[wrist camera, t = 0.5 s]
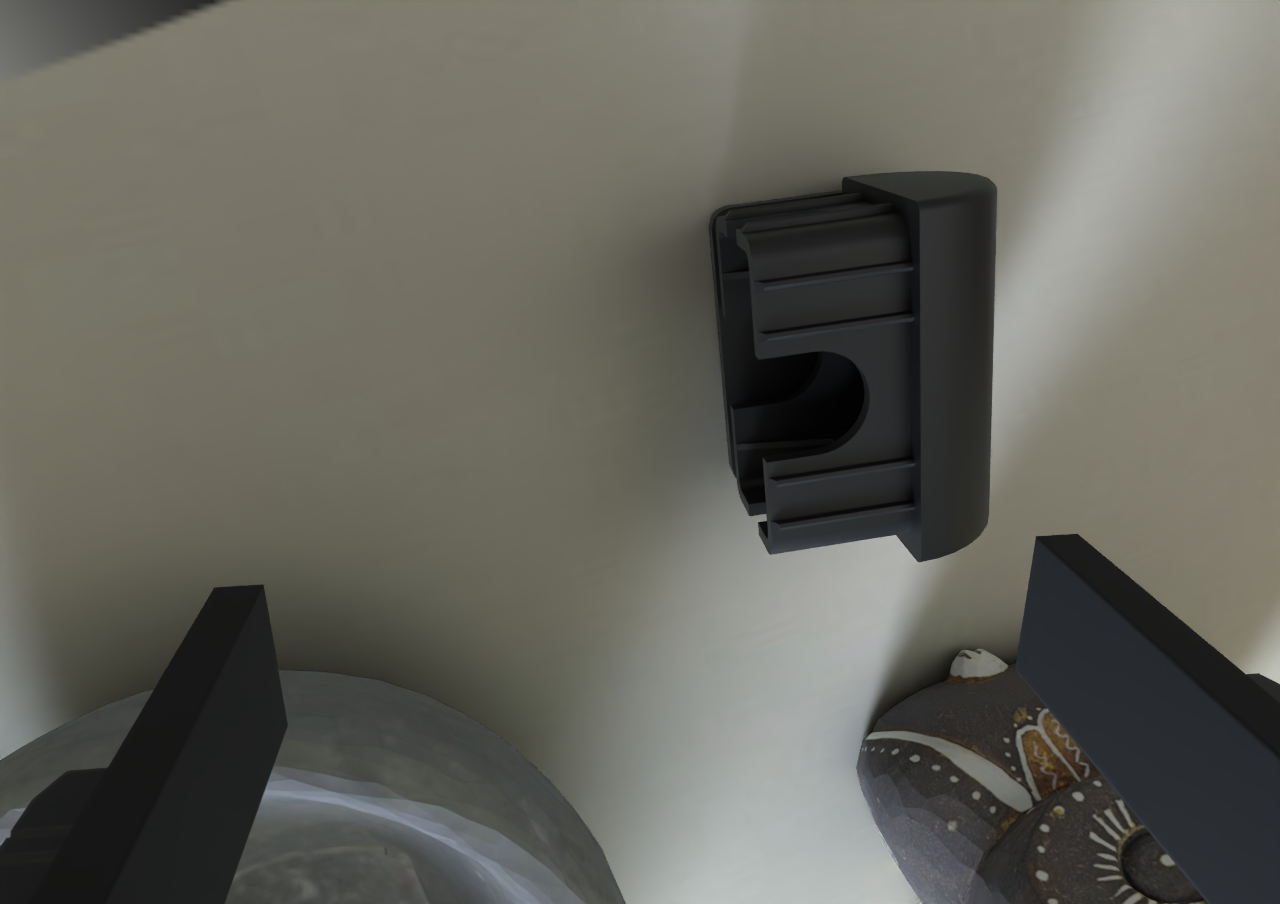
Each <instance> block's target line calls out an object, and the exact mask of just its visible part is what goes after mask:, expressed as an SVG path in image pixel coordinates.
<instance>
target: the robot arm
mask: <svg viewBox="0 0 1280 904" xmlns="http://www.w3.org/2000/svg"><path fill="white" fill-rule="evenodd" d="M1015 670H1016V671H1017V672H1018V673H1019V675H1020V676H1021V677H1022V678H1023V680H1024V681H1025V682H1026V683H1027V684H1028V686H1029V687H1030V688H1031V689H1032V690H1033V692H1034V693H1035V694H1036V695H1037V697H1038V698H1039V699H1040V700H1041V701H1042V703H1043V704H1044V705H1045V706H1046V707H1047V709H1048V710H1049V711H1050V712H1051V714H1052V715H1053V716H1054V717H1055V718H1056V720H1057V721H1058V722H1059V723H1060V724H1061V726H1062V727H1063V728H1064V729H1065V731H1066V732H1067V733H1068V734H1069V735H1070V737H1071V738H1072V739H1073V740H1074V741H1075V743H1076V744H1077V745H1078V746H1079V748H1080V749H1081V750H1082V751H1083V752H1084V754H1085V755H1086V756H1087V757H1088V758H1089V760H1090V761H1091V762H1092V763H1093V765H1094V766H1095V767H1096V768H1097V769H1098V771H1099V772H1100V773H1101V774H1102V775H1103V777H1104V778H1105V779H1106V780H1107V782H1108V783H1109V784H1110V785H1111V786H1112V788H1113V789H1114V790H1115V791H1116V792H1117V794H1118V795H1119V796H1120V797H1121V799H1122V800H1123V801H1124V802H1125V803H1126V805H1127V806H1128V807H1129V808H1130V809H1131V811H1132V812H1133V813H1134V814H1135V816H1136V817H1137V818H1138V819H1139V820H1140V822H1141V823H1142V824H1143V825H1144V826H1145V828H1146V829H1147V830H1148V831H1149V833H1150V834H1151V835H1152V836H1153V837H1154V839H1155V840H1156V841H1157V842H1158V843H1159V845H1160V846H1161V847H1162V848H1163V850H1164V851H1165V852H1166V853H1167V854H1168V856H1169V857H1170V858H1171V859H1172V860H1173V862H1174V863H1175V864H1176V865H1177V867H1178V868H1179V869H1180V870H1181V871H1182V873H1183V874H1184V875H1185V876H1186V877H1187V879H1188V880H1189V881H1190V882H1191V884H1192V885H1193V886H1194V887H1195V888H1196V890H1197V891H1198V892H1199V893H1200V894H1201V896H1202V897H1203V898H1204V899H1205V901H1206V902H1207V903H1208V904H1280V684H1278V683H1276V682H1274V681H1272V680H1270V679H1268V678H1266V677H1264V676H1262V675H1261V674H1259V673H1257V674H1245V673H1244V672H1242V671H1241V670H1240V669H1239V668H1238V667H1236V666H1235V665H1234V664H1233V663H1232V662H1230V661H1229V660H1228V659H1227V658H1226V657H1224V656H1223V655H1222V654H1221V653H1220V652H1218V651H1217V650H1216V649H1215V648H1214V647H1213V646H1211V645H1210V644H1209V643H1208V642H1207V641H1205V640H1204V639H1203V638H1202V637H1201V636H1199V635H1198V634H1197V633H1196V632H1195V631H1193V630H1192V629H1191V628H1190V627H1189V626H1187V625H1186V624H1185V623H1184V622H1183V621H1181V620H1180V619H1179V618H1178V617H1177V616H1175V615H1174V614H1173V613H1172V612H1171V611H1169V610H1168V609H1167V608H1166V607H1165V606H1163V605H1162V604H1161V603H1160V602H1159V601H1157V600H1156V599H1155V598H1154V597H1153V596H1151V595H1150V594H1149V593H1148V592H1147V591H1145V590H1144V589H1143V588H1142V587H1141V586H1139V585H1138V584H1137V583H1136V582H1135V581H1133V580H1132V579H1131V578H1130V577H1129V576H1127V575H1126V574H1125V573H1124V572H1123V571H1121V570H1120V569H1119V568H1118V567H1117V566H1115V565H1114V564H1113V563H1112V562H1111V561H1109V560H1108V559H1107V558H1106V557H1105V556H1103V555H1102V554H1101V553H1100V552H1099V551H1097V550H1096V549H1095V548H1094V547H1093V546H1091V545H1090V544H1089V543H1088V542H1087V541H1085V540H1084V539H1083V538H1082V537H1081V536H1079V535H1078V534H1067V535H1051V536H1036V541H1035V547H1034V553H1033V560H1032V566H1031V572H1030V579H1029V585H1028V591H1027V598H1026V604H1025V610H1024V616H1023V623H1022V629H1021V635H1020V642H1019V648H1018V654H1017V661H1016V667H1015ZM287 727H288V723H287V717H286V711H285V705H284V699H283V694H282V688H281V682H280V676H279V671H278V665H277V659H276V653H275V648H274V642H273V636H272V630H271V625H270V619H269V613H268V607H267V602H266V596H265V590H264V585H248V586H232V587H216V588H214V589H213V591H212V592H211V594H210V596H209V597H208V599H207V601H206V602H205V604H204V606H203V608H202V609H201V611H200V613H199V614H198V616H197V618H196V619H195V621H194V623H193V624H192V626H191V628H190V630H189V631H188V633H187V635H186V636H185V638H184V640H183V641H182V643H181V645H180V646H179V648H178V650H177V651H176V653H175V655H174V657H173V658H172V660H171V662H170V663H169V665H168V667H167V668H166V670H165V672H164V673H163V675H162V677H161V679H160V680H159V682H158V684H157V685H156V687H155V689H154V690H153V692H152V694H151V695H150V697H149V699H148V700H147V702H146V704H145V706H144V707H143V709H142V711H141V712H140V714H139V716H138V717H137V719H136V721H135V722H134V724H133V726H132V728H131V729H130V731H129V733H128V734H127V736H126V738H125V739H124V741H123V743H122V744H121V746H120V748H119V750H118V751H117V753H116V755H115V756H114V758H113V760H112V761H111V763H110V765H109V766H108V767H107V768H95V769H82V770H70V771H66V772H65V773H64V774H62V775H61V776H60V777H59V778H57V779H56V780H55V781H54V782H53V783H51V784H50V785H49V786H48V787H47V788H45V789H44V790H43V791H42V792H40V793H39V794H38V795H37V796H36V797H34V798H33V799H32V800H31V802H30V803H29V805H28V806H27V808H26V809H25V811H24V812H23V814H22V815H21V816H20V818H19V819H18V821H17V822H16V824H15V825H14V827H13V828H12V830H11V831H10V832H11V835H10V838H6V839H5V840H4V842H3V843H2V845H1V846H0V904H225V901H226V898H227V896H228V893H229V890H230V887H231V884H232V881H233V879H234V876H235V873H236V870H237V867H238V865H239V862H240V859H241V856H242V853H243V851H244V848H245V845H246V842H247V839H248V836H249V834H250V831H251V828H252V825H253V822H254V820H255V817H256V814H257V811H258V808H259V805H260V803H261V800H262V797H263V794H264V791H265V789H266V786H267V783H268V780H269V777H270V775H271V772H272V769H273V766H274V763H275V760H276V758H277V755H278V752H279V749H280V746H281V744H282V741H283V738H284V735H285V732H286V729H287Z"/></svg>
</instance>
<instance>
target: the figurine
mask: <svg viewBox="0 0 1280 904" xmlns="http://www.w3.org/2000/svg"><path fill="white" fill-rule="evenodd" d="M1015 667H1016V664H1012V665H1007V664H1006V663H1004V662H1003V661H1002V660H1000V659H999V658H997V657H996V656H994V655H993V654H991V653H989V652H987V651H985V650H983V649H977V650H975V651H974V652H973V651H969V650H962V651H960V653H959V654H958V655H957V657H956V658H955V660H954V661H953V662H952V665H951V670H950V674H949V676H948V677H947V679H946V680H945V681H944V682H941V683H938V684H935V685H932V686H930V687H927V688H924V689H922V690H920V691H919V692H917V693H915V694H913V695H911V696H910V697H908V698H906V699H905V700H903V701H901V702H900V703H898V704H897V705H895V706H894V707H892V708H891V709H890V710H889V711H888V712H886V713H885V714H884V715H883V716H882V717H881V718H879V719H878V721H877V723H876V725H875V727H874V729H873V731H872V733H871V734H870V735H869V736H868V737H867V738H866V739H865V740H864V741H863V744H862V747H861V750H860V754H859V758H858V763H857V772H858V777H859V781H860V786H861V789H862V791H863V794H864V796H865V799H866V801H867V804H868V807H869V809H870V812H871V814H872V817H873V820H874V823H875V825H876V827H877V829H878V830H879V832H880V834H881V836H882V838H883V840H884V842H885V843H886V845H887V847H888V849H889V851H890V853H891V854H892V856H893V858H894V860H895V862H896V863H897V865H898V866H899V868H900V869H901V871H902V873H903V874H904V876H905V877H906V879H907V880H908V882H909V884H910V885H911V887H912V888H913V890H914V891H915V893H916V894H917V896H918V897H919V898H920V900H921V901H922V902H923V904H1208V903H1207V902H1206V901H1205V899H1204V898H1203V897H1202V896H1201V894H1200V893H1199V892H1198V891H1197V890H1196V888H1195V887H1194V886H1193V885H1192V884H1191V882H1190V881H1189V880H1188V879H1187V877H1186V876H1185V875H1184V874H1183V873H1182V871H1181V870H1180V869H1179V868H1178V867H1177V865H1176V864H1175V863H1174V862H1173V860H1172V859H1171V858H1170V857H1169V856H1168V854H1167V853H1166V852H1165V851H1164V850H1163V848H1162V847H1161V846H1160V845H1159V843H1158V842H1157V841H1156V840H1155V839H1154V837H1153V836H1152V835H1151V834H1150V833H1149V831H1148V830H1147V829H1146V828H1145V826H1144V825H1143V824H1142V823H1141V822H1140V820H1139V819H1138V818H1137V817H1136V816H1135V814H1134V813H1133V812H1132V811H1131V809H1130V808H1129V807H1128V806H1127V805H1126V803H1125V802H1124V801H1123V800H1122V799H1121V797H1120V796H1119V795H1118V794H1117V792H1116V791H1115V790H1114V789H1113V788H1112V786H1111V785H1110V784H1109V783H1108V782H1107V780H1106V779H1105V778H1104V777H1103V775H1102V774H1101V773H1100V772H1099V771H1098V769H1097V768H1096V767H1095V766H1094V765H1093V763H1092V762H1091V761H1090V760H1089V758H1088V757H1087V756H1086V755H1085V754H1084V752H1083V751H1082V750H1081V749H1080V748H1079V746H1078V745H1077V744H1076V743H1075V741H1074V740H1073V739H1072V738H1071V737H1070V735H1069V734H1068V733H1067V732H1066V731H1065V729H1064V728H1063V727H1062V726H1061V724H1060V723H1059V722H1058V721H1057V720H1056V718H1055V717H1054V716H1053V715H1052V714H1051V712H1050V711H1049V710H1048V709H1047V707H1046V706H1045V705H1044V704H1043V703H1042V701H1041V700H1040V699H1039V698H1038V697H1037V695H1036V694H1035V693H1034V692H1033V690H1032V689H1031V688H1030V687H1029V686H1028V684H1027V683H1026V682H1025V681H1024V680H1023V678H1022V677H1021V676H1020V675H1019V673H1018V672H1017V671H1016V670H1015Z"/></svg>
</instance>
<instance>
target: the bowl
mask: <svg viewBox="0 0 1280 904" xmlns="http://www.w3.org/2000/svg"><path fill="white" fill-rule="evenodd" d="M278 671H279V676H280V682H281V688H282V694H283V699H284V705H285V711H286V717H287V723H288V727H287V729H286V732H285V735H284V738H283V741H282V744H281V746H280V749H279V752H278V755H277V758H276V760H275V763H274V766H273V769H272V772H271V775H270V777H269V780H268V783H267V786H266V789H265V791H264V794H263V797H262V800H261V803H260V805H259V808H258V811H257V814H256V817H255V820H254V822H253V825H252V828H251V831H250V834H249V836H248V839H247V842H246V845H245V848H244V851H243V853H242V856H241V859H240V862H239V865H238V867H237V870H236V873H235V876H234V879H233V881H232V884H231V887H230V890H229V893H228V896H227V898H226V901H225V904H626V903H625V901H624V899H623V896H622V894H621V892H620V890H619V887H618V885H617V883H616V881H615V878H614V876H613V874H612V871H611V869H610V867H609V864H608V862H607V860H606V857H605V855H604V853H603V850H602V849H601V847H600V845H599V844H598V842H597V841H596V839H595V838H594V836H593V835H592V833H591V832H590V830H589V829H588V827H587V826H586V824H585V823H584V821H583V820H582V819H581V817H580V816H579V815H578V813H577V812H576V811H575V809H574V808H573V807H572V806H571V805H570V803H569V802H568V801H567V800H566V799H565V798H564V796H563V795H562V794H561V793H560V792H559V791H558V790H557V788H556V787H555V786H554V785H553V784H552V783H551V782H550V781H549V779H548V778H546V777H545V776H544V775H543V774H542V773H541V772H540V771H539V770H538V769H537V768H536V767H535V766H534V765H532V764H531V763H530V762H529V761H528V760H527V759H525V758H524V757H523V756H522V755H521V754H520V753H519V752H518V751H516V750H515V749H514V748H513V747H512V746H511V745H510V744H508V743H507V742H506V741H505V740H504V739H502V738H501V737H499V736H498V735H496V734H495V733H493V732H492V731H491V730H489V729H488V728H486V727H485V726H483V725H481V724H480V723H478V722H477V721H475V720H474V719H472V718H470V717H469V716H467V715H465V714H463V713H461V712H459V711H457V710H455V709H453V708H451V707H449V706H447V705H445V704H443V703H440V702H438V701H436V700H434V699H432V698H430V697H428V696H426V695H423V694H421V693H418V692H415V691H412V690H408V689H405V688H402V687H399V686H396V685H393V684H390V683H387V682H384V681H379V680H374V679H369V678H363V677H356V676H350V675H343V674H336V673H327V672H314V671H292V670H278ZM153 690H154V689H152V690H148V691H144V692H141V693H138V694H135V695H133V696H130V697H127V698H124V699H121V700H118V701H116V702H113V703H110V704H107V705H104V706H102V707H100V708H98V709H96V710H93V711H91V712H89V713H87V714H85V715H83V716H80V717H78V718H76V719H74V720H72V721H70V722H68V723H66V724H64V725H62V726H60V727H58V728H56V729H54V730H52V731H51V732H49V733H47V734H45V735H43V736H41V737H39V738H37V739H35V740H34V741H32V742H30V743H29V744H27V745H25V746H23V747H22V748H20V749H18V750H16V751H15V752H13V753H12V754H10V755H8V756H7V757H5V758H4V759H2V760H0V846H1V845H2V843H3V842H4V840H5V839H6V838H10V835H11V832H10V831H11V830H12V828H13V827H14V825H15V824H16V822H17V821H18V819H19V818H20V816H21V815H22V814H23V812H24V811H25V809H26V808H27V806H28V805H29V803H30V802H31V800H32V799H33V798H34V797H36V796H37V795H38V794H39V793H40V792H42V791H43V790H44V789H45V788H47V787H48V786H49V785H50V784H51V783H53V782H54V781H55V780H56V779H57V778H59V777H60V776H61V775H62V774H64V773H65V772H66V771H70V770H82V769H95V768H107V767H108V766H109V765H110V763H111V761H112V760H113V758H114V756H115V755H116V753H117V751H118V750H119V748H120V746H121V744H122V743H123V741H124V739H125V738H126V736H127V734H128V733H129V731H130V729H131V728H132V726H133V724H134V722H135V721H136V719H137V717H138V716H139V714H140V712H141V711H142V709H143V707H144V706H145V704H146V702H147V700H148V699H149V697H150V695H151V694H152V692H153Z"/></svg>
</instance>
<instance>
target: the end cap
mask: <svg viewBox="0 0 1280 904" xmlns="http://www.w3.org/2000/svg"><path fill="white" fill-rule="evenodd" d="M996 215H997V187H996V185H995V184H994V183H993V182H992V181H991V180H990V179H989V178H987V177H984V176H981V175H977V174H971V173H963V172H945V171H917V172H895V173H881V174H870V175H860V176H852V177H844V178H843V180H842V191H832V192H825V193H817V194H810V195H802V196H795V197H787V198H780V199H772V200H765V201H758V202H750V203H743V204H735V205H728V206H724V207H722V208H719V209H717V210H716V211H715V213H714V214H713V215H712V216H711V218H710V223H709V235H710V246H711V258H712V269H713V281H714V293H715V304H716V316H717V327H718V339H719V350H720V362H721V373H722V385H723V397H724V408H725V420H726V431H727V443H728V454H729V464H730V467H731V469H732V472H733V474H734V475H735V477H736V478H737V485H738V490H739V494H740V498H741V500H742V502H743V504H744V506H745V508H746V510H747V512H748V514H749V516H754V515H760V514H767V521H765V522H759V523H758V528H759V536H760V537H761V539H762V541H763V543H764V545H765V547H766V549H767V551H768V553H769V554H777V553H783V552H790V551H796V550H802V549H809V548H815V547H821V546H828V545H834V544H840V543H846V542H853V541H859V540H865V539H872V538H878V537H884V536H891V535H897V537H898V538H899V539H900V540H901V542H902V543H903V544H904V545H905V547H906V548H907V549H908V550H909V552H910V553H911V554H912V555H913V557H914V558H915V559H916V560H917V561H918V562H923V561H927V560H932V559H937V558H940V557H943V556H946V555H949V554H952V553H954V552H956V551H958V550H960V549H962V548H964V547H966V546H968V545H969V544H971V543H972V542H973V541H974V540H975V539H977V538H978V537H979V536H980V535H981V533H982V532H983V530H984V529H985V527H986V525H987V523H988V517H989V497H990V457H991V416H992V376H993V336H994V296H995V255H996Z"/></svg>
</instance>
